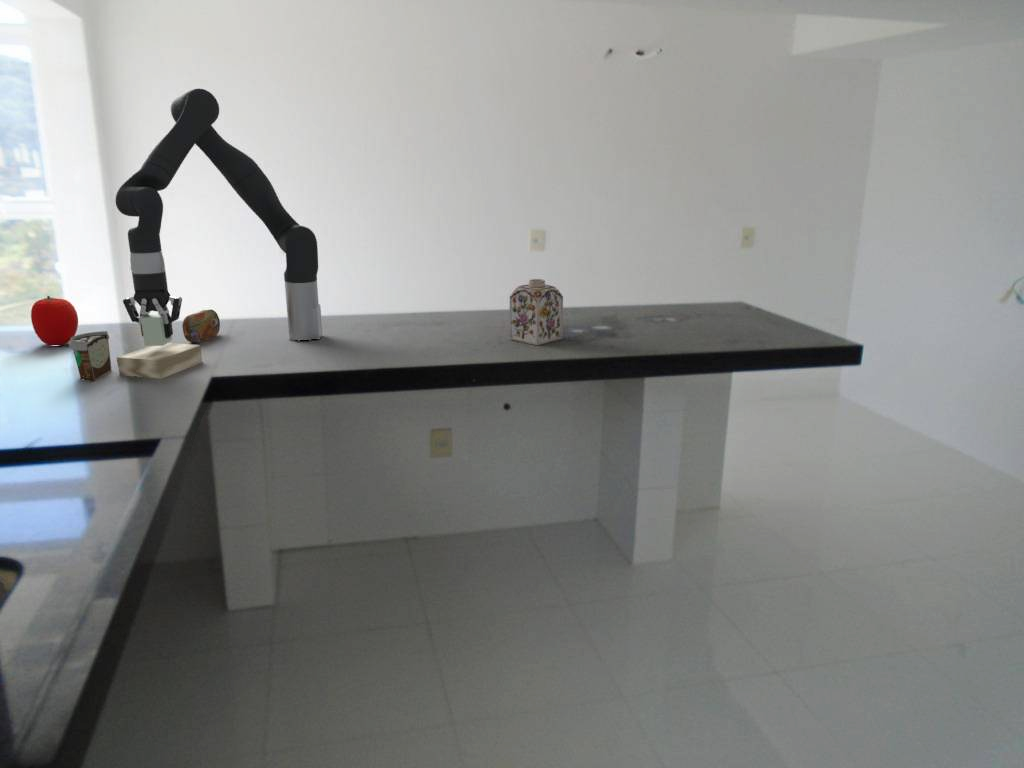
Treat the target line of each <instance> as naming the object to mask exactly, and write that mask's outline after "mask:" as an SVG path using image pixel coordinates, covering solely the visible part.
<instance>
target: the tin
mask: <svg viewBox="0 0 1024 768" xmlns="http://www.w3.org/2000/svg"><path fill="white" fill-rule="evenodd" d="M220 328H221V321H220V318H219V315H218V313H217V312H216V311H215V310H214V309H202V310H201V311H197V312H194V313H191V314H189V315H187V316H186V317H184V319H183V321H182V333H183V336H184V338H185V339H186V341H187V342H189V343H194V344H195V343H196V344H200V343H202V342H205V341H207V340H211V339H213V338H215V337H216V336H217V335H218V334H219V332H220Z"/></svg>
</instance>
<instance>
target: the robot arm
mask: <svg viewBox="0 0 1024 768" xmlns="http://www.w3.org/2000/svg"><path fill="white" fill-rule="evenodd" d="M219 105H220V104H219V103H218V100H217V99H216V96H214V95H213V94H212V93H211V92H210V91H209V90H207V89H203V88H194V89H191V90H188V91H187V92H184V93H183V94H181V95H180V96H178V97H177V98H175V99H173V101H172V102H171V105H170V114H171V116H172V118H173V121H174V122H175V124H174V125H173V126H172V128H170V130H169V131H168V132H167V133H166V135H165V136H164V137H162V139H161V140H160V141H159V142H158V143H157V144H156V145H155V146H154V147H153V149H152V150H151V151H150V153H149V155H148V156H147V158H145V161H144V162H143V164H142V166H141V167H140V169H138V171H136V172H135V173H134V174H132V176H131V177H129V178H128V179H126V181H124V182H123V184H122V185H121V186H120V187H119V189H118V190H117V192H116V194H115V206H116V208H117V210H118V211H119V212H120V214H122V215H124V216H127V217H138V221H137V226H134V227H132V228H129V229H128V232H127V240H128V246H129V248H128V249H129V255H130V256H129V261H130V271H131V275H132V276H131V277H132V284H133V289H134V294H133V296H131V297H130V296H129V297H125V299H123V300H122V303H123V305H124V307H125V309H126V312H127V314H128V316H129V318H130V320H131V322H132V323H138V324H139V325H140V331H141V336H142V337H143V330H142V323H141V318H143V317H146V316H147V315H149V314H151V312H157V313H159V315H160V316H161V317H163V322H164V323H165V324H164V331H165V338H170V337H171V335H172V336H173V334H174V333H173V332H174V330H173V322H175V321H178V320H179V318H180V314H181V309H182V304H183V303H182V302H183V298H182V297H181V296H178V297H176V296H173V295H172V296H171V294H170V292H169V288H168V279H167V273H166V264H165V260H164V259H165V258H164V255H163V250H162V245H161V238H160V237H161V235H160V233H161V228H162V223H163V221H162V220H163V214H164V213H163V212H164V203H163V199H162V196H161V195H160V193H159V192H160V191H163V190H165V189H167V188H168V186H169V185H170V184H171V182H172V180H173V178H174V177H175V175H176V173H177V172H178V170H179V169H180V167H181V165H182V164H183V162H184V160H186V157H188V154H189V153H190V151H191V150H192V148H193V147H194V146H197V147H198V148H199V150H201V151H202V153H203V154H204V155H205V156H206V157H207V158H208V159H209V161H210V162H211V163H212V164H213V165H214V167H215V168H216V169H217V170H218V171H219V172H220V173H221V175H222V176H223V177H224V179H225V180H226V181H227V183H228V184H229V185H230V186H231V187H232V189H233V190H234V191H235V192H236V194H237V195H238V196H239V197H240V198H241V200H242V201H243V202H244V204H246V205H247V206H248V208H249V209H250V210H252V212H253V213H254V214H255V215H256V216H257V217H258V218H259V219H260V220H261V221H262V223H263V224H264V225H265V227H266V229H267V230H268V231H269V233H270V234H271V236H272V237H273V239H274V241H276V242H275V243H277V245H278V246H279V248H280V249H281V250H282V252H283V253H284V254H285V260H286V261H285V262H286V265H285V266H286V267H285V270H284V272H283V280H284V288H285V302H286V304H285V305H286V313H287V314H286V315H287V327H288V337H289V340H291V341H295V340H298V341H297V342H301V341H300V340H309V341H312V340H311V339H318V338H320V337H321V338H322V336H323V323H322V309H321V307H322V306H321V304H320V302H319V291H318V289H319V288H318V272H319V253H318V252H319V249H318V240H317V237H316V235H315V233H314V232H313V230H312V229H310V228H309V227H307V226H304V225H300V224H299V223H298V222H297V221H296V219H294V218H293V217H292V216H291V215H290V214H289V213H290V212H288V211H287V210H286V208H285V207H284V205H282V202H281V201H280V198H279V197H278V195H277V192H276V190H275V189H274V187H273V184H272V183H271V181H270V179H269V178H268V177H267V175H266V174H265V173H264V171H263V170H262V169H261V167H260V166H259V165H258V164H257V162H256V161H255V160H254V159H253V158H251V157H250V156H249V155H248V154H246V153H245V152H243V151H241V150H240V149H239V148H236V147H235V146H233V145H232V144H230V143H229V142H228V141H226V140H225V139H224V138H223V137H222V136H221V135H220V134H219V133H218V132H217V130H216V129H215V128H214V127H213V124H214V123H215V122H216V121H217V120H218V117H219V116H220V106H219ZM169 302H170V305H171V306H172V308H171V313H170V310H169V308H168V304H169ZM136 303H137V304H138V305H139V306H140V309H139V310H140V311H139V312H138V310H137V308H136V306H135V305H136ZM170 314H171V315H170ZM321 335H322V336H321ZM321 338H320V339H321Z"/></svg>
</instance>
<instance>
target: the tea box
mask: <svg viewBox="0 0 1024 768" xmlns="http://www.w3.org/2000/svg"><path fill="white" fill-rule="evenodd" d="M141 323H142V330H143V336H142V337H143V342H144V343H143V344H144V347H149V346H164V345H165V344H167V343H171V342H172V341H173V337H172V336H173V335H171V337H170V338H165V331H164V324H165V323H164V322H163V317H161V316H160V315H159V313H158V312H156V313H149V315H147V316H146V317H143V318H141Z"/></svg>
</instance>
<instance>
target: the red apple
mask: <svg viewBox="0 0 1024 768" xmlns="http://www.w3.org/2000/svg"><path fill="white" fill-rule="evenodd" d="M30 318H31V325H32V328H33V331H34V333H35V334H36V336H37V337H38V338H39V340H41V342H43V344H45V345H47V346H50V345H62V346H64V344H65V345H67V344H68V343H70V341H71V338H72V337H74V336H76V334H77V330H78V325H79V317H78V312H77V310H76V308H75V306H74V305H73V304H72V303H71V302H70V301H69V300H67V299H64V298H57V297H50V295H47V297H44V298H41V299H39V300H36V301H34V304H33V305H32V307H31V310H30Z"/></svg>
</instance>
